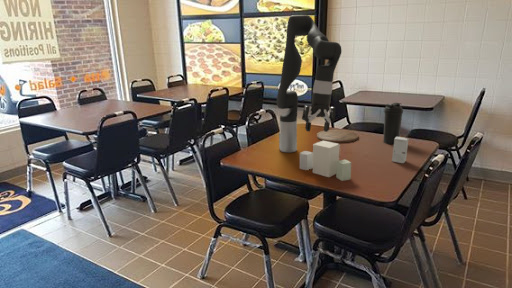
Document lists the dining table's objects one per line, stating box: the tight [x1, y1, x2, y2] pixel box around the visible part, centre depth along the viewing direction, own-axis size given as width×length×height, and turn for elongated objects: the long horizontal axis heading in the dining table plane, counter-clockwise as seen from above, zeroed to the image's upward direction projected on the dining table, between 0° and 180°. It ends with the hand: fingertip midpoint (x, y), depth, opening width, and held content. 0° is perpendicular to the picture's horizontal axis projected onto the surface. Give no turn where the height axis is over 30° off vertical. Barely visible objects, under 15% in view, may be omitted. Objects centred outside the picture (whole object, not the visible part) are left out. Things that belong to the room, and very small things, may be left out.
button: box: [339, 144, 342, 159], centre depth 172 cm, size 9×6×6 cm, turn 136°
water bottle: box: [383, 102, 404, 145], centre depth 212 cm, size 10×10×23 cm
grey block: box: [299, 150, 313, 171], centre depth 178 cm, size 4×4×8 cm
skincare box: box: [391, 136, 410, 164], centre depth 182 cm, size 6×4×12 cm
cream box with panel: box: [312, 140, 340, 178], centre depth 171 cm, size 8×9×14 cm
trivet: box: [316, 129, 359, 144], centre depth 228 cm, size 25×25×2 cm
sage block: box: [335, 159, 352, 182], centre depth 164 cm, size 4×4×8 cm
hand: (316, 131), depth 152 cm, fingers open, 8 cm apart
